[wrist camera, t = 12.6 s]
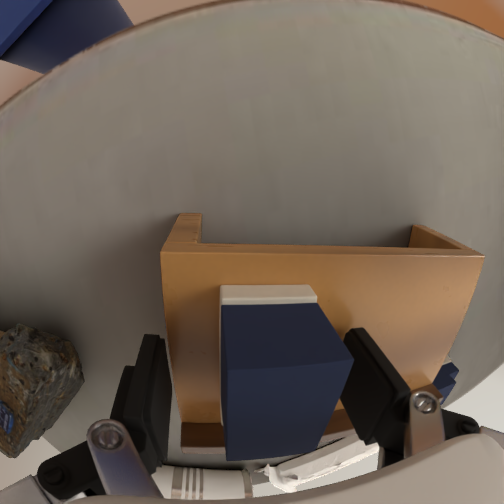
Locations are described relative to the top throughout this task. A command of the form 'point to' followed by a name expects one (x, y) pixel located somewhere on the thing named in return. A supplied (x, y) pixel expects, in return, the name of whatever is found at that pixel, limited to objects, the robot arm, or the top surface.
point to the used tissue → (318, 463)
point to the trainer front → (277, 370)
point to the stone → (34, 384)
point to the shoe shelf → (329, 299)
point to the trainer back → (445, 378)
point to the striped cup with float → (203, 483)
